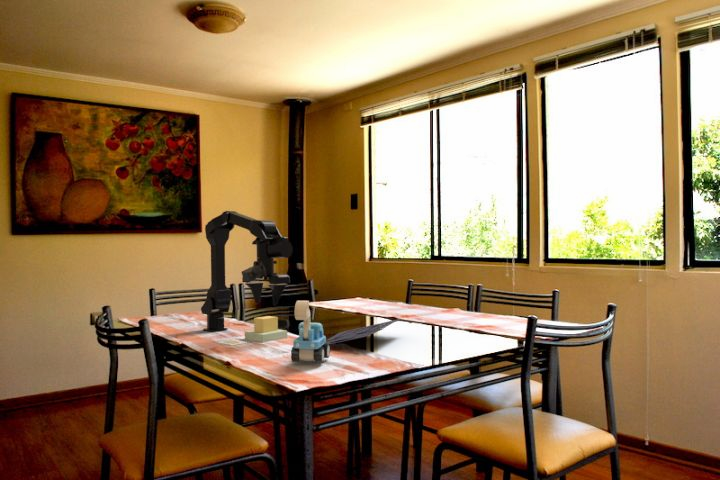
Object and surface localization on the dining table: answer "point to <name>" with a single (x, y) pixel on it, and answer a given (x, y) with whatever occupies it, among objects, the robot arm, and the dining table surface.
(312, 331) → the toy excavator
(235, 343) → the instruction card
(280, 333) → the base brick
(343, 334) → the dark grey flat panel
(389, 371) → the dining table surface
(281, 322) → the tape measure
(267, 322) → the top brick
